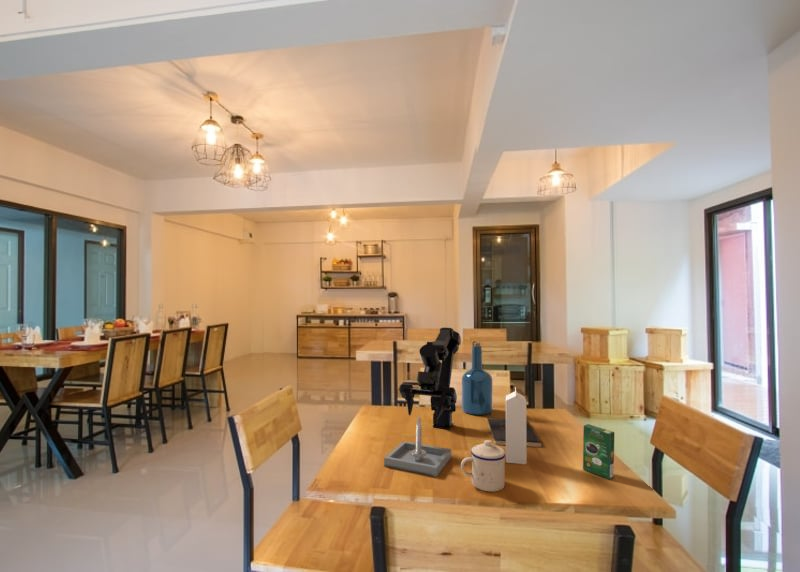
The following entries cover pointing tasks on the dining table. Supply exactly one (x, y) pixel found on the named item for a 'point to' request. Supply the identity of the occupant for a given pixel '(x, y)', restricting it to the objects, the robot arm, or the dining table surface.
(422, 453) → the screw
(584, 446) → the coffee box
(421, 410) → the dining table surface
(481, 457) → the teacup with lid
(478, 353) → the wine bottle
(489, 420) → the hardcover book
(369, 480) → the dining table surface
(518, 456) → the milk
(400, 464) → the tray
